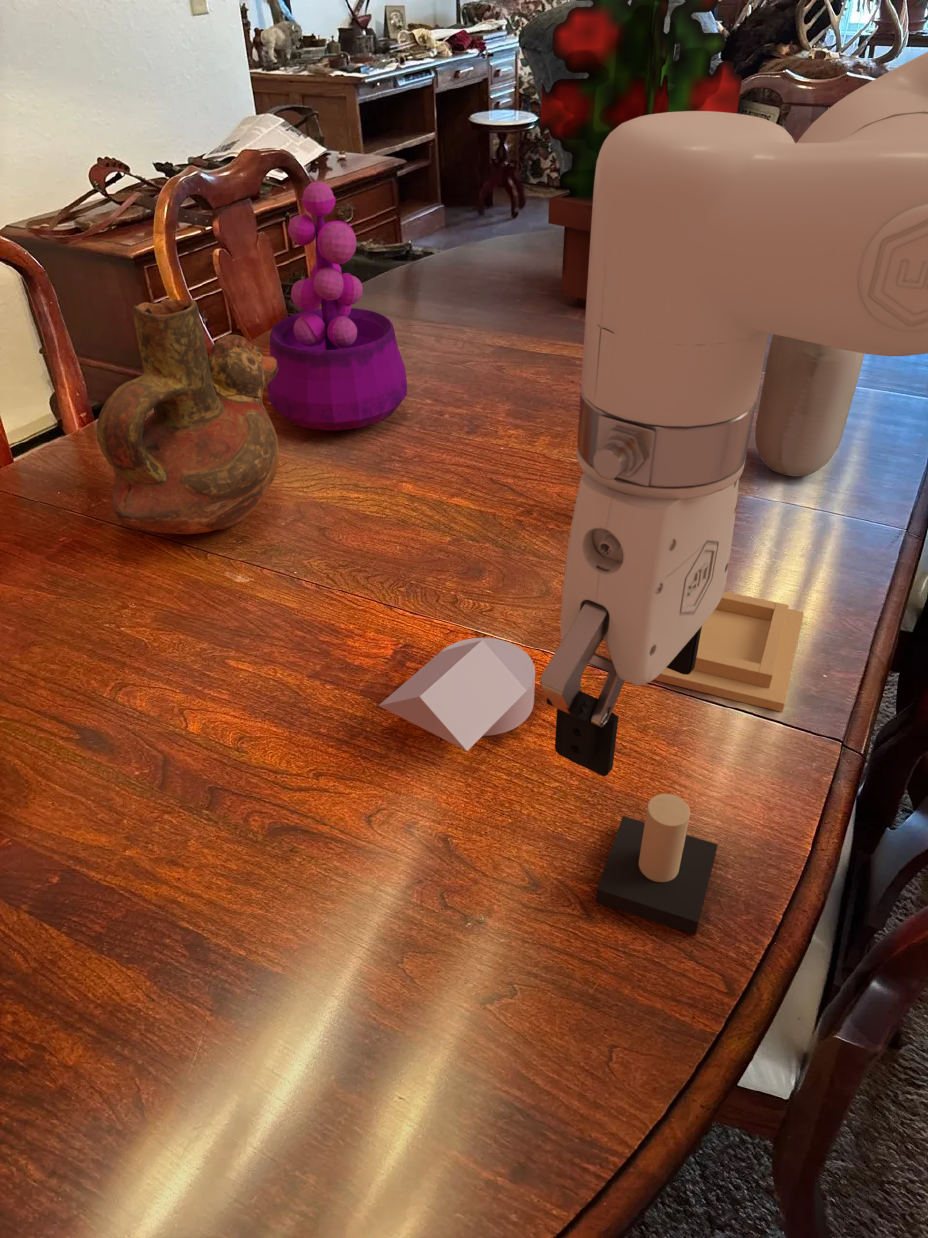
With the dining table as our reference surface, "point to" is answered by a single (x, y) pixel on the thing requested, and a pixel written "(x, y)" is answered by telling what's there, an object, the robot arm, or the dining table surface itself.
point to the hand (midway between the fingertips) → (627, 710)
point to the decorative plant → (333, 336)
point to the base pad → (744, 652)
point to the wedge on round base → (468, 691)
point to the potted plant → (623, 96)
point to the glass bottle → (804, 404)
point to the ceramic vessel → (189, 427)
